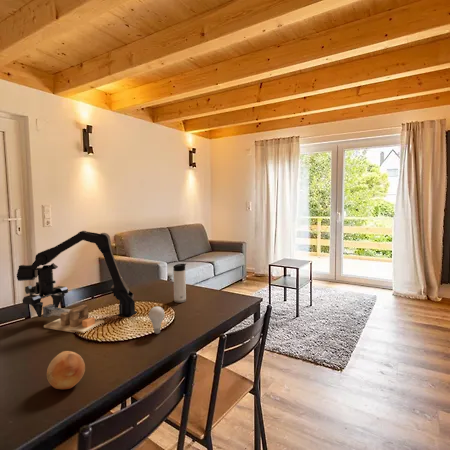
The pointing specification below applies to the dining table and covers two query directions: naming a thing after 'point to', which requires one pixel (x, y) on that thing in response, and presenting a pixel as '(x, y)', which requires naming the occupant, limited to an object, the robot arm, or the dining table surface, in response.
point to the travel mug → (179, 283)
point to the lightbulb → (156, 318)
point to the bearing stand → (73, 321)
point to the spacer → (88, 322)
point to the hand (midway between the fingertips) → (47, 313)
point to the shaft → (54, 311)
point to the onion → (65, 370)
